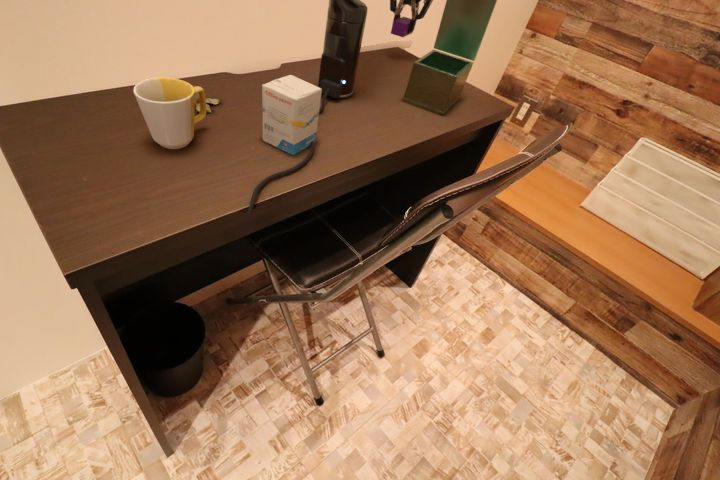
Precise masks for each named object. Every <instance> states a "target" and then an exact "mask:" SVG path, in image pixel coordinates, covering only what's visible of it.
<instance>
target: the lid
mask: <svg viewBox="0 0 720 480" xmlns="http://www.w3.org/2000/svg"><path fill="white" fill-rule="evenodd" d="M497 2H498V0H445V4H444V8H443V12H442V14H441V15H442V16H441V19H440V23H439V27H438V29H437V30H438V31H437V34H436V37H435V40H434V41H435V42H434V45H433V49H434V50H437V51H440V52H443V53H446V54H449V55H452V56H456V57H459V58H462V59H465V60H468V61H471V62H475V61H476V59H477V56H478V53H479V50H480V47H481V45H482V43H483V39H484V36H485V34H486V32H487V29H488V26H489V24H490V22H491V21H490V20H491V18H492V15H493V13H494V10H495V8H496V4H497Z"/></svg>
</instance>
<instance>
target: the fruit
mask: <svg viewBox="0 0 720 480" xmlns="http://www.w3.org/2000/svg"><path fill="white" fill-rule="evenodd" d="M191 85H192V86H193V87H196V86H197V85H194V84H191ZM205 98H206V114H208V113H209V114H210V113H212V109H211V106H210V105H209V104H211V105H212V104H213V105H214V106H215V105H218V104H220V102H221V100H220V99H219V98H209V97H205ZM195 110H196V112H198V113H200V99H199V93H196V94H195Z"/></svg>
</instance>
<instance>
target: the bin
mask: <svg viewBox="0 0 720 480" xmlns="http://www.w3.org/2000/svg"><path fill="white" fill-rule="evenodd" d="M473 65H474V61H471V60H469V59H465V58H462V57H459V56H456V55H453V54H450V53H447V52H444V51H441V50H437V49H432V50H430V51H429V52H427V53H426V54H425V55H423V56H422V57H421V56H420V57H419V58H418V59H416V60H415V61H414V62H413V64H412V67H411V71H410V73H409V74H410V75H409V78H408V80H407V81H408V82H407V85H406V89H405V92H404V94H403V95H404V96H403V99H402V102H404V103H408V104H410V105H413V106H416V107H418V108H421V109H423V110H426V111H429V112H432V113H433V114H434V113H435V114H437V115H440V116H445V114H446V113H447V112H448V111H449V110H451V108H452V107H453V106H454V105H455V104H456V103H457V102H458V101H459V100H460V98H461V96H462V92H463V90H464V88H465V85H466V83H467V80H468V77H469V75H470V72H471V70H472V68H473Z"/></svg>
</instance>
